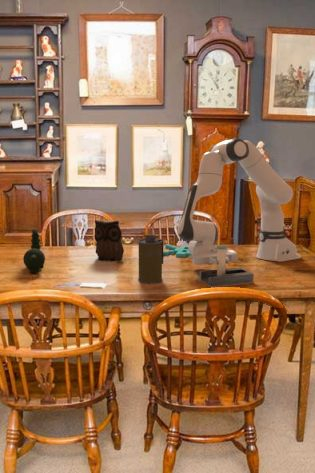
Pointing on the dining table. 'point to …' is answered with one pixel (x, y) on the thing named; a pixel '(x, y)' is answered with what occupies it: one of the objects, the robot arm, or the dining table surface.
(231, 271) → the keyhole track
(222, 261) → the flanged post
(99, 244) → the owl
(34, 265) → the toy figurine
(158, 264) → the canister
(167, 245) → the alien figure
